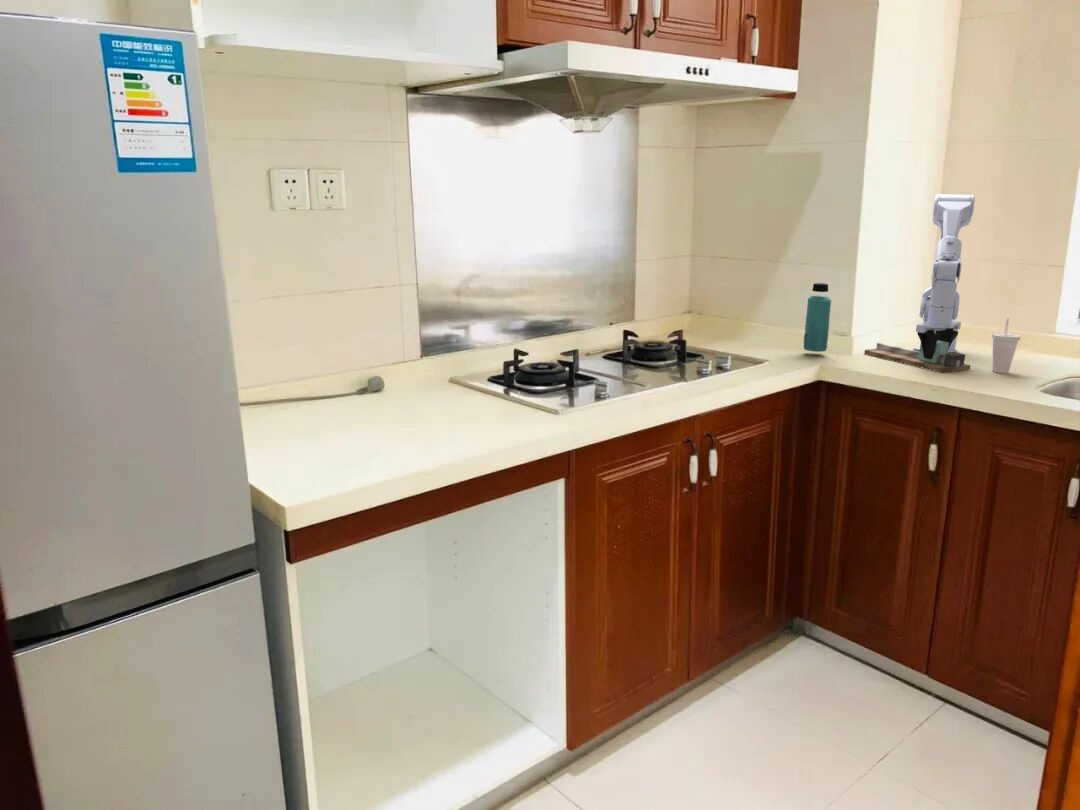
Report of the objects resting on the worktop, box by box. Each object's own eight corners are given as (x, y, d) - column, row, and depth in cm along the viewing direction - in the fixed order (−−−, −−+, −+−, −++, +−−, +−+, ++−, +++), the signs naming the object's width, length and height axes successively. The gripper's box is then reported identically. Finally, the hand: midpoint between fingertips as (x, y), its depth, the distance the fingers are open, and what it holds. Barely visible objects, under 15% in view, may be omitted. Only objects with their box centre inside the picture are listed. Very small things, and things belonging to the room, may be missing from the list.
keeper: (918, 359, 220) (921, 340, 219) (930, 358, 222) (932, 339, 221) (934, 363, 216) (937, 343, 214) (946, 361, 218) (949, 342, 216)
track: (864, 354, 233) (866, 339, 232) (889, 351, 237) (891, 336, 236) (943, 373, 210) (946, 356, 209) (970, 369, 215) (972, 353, 214)
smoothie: (981, 371, 213) (990, 317, 209) (993, 368, 217) (1001, 315, 213) (1007, 375, 208) (1016, 321, 205) (1019, 372, 212) (1028, 318, 208)
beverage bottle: (831, 356, 229) (839, 284, 224) (811, 357, 227) (818, 285, 222) (817, 351, 235) (824, 281, 230) (797, 353, 233) (803, 282, 228)
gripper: (935, 310, 208) (928, 362, 212) (973, 307, 214) (966, 358, 218) (912, 306, 214) (905, 357, 218) (950, 303, 220) (943, 353, 224)
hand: (934, 357), depth 218 cm, fingers closed on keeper, 4 cm apart
